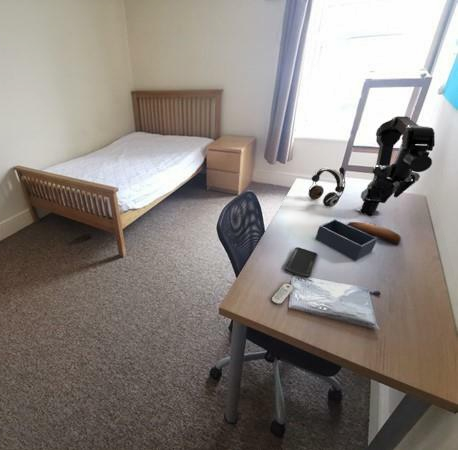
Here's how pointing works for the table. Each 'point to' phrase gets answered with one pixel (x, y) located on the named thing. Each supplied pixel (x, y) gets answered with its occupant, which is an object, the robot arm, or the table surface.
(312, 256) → the phone
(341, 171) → the headset
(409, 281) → the table surface
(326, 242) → the box
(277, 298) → the keychain
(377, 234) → the sunglasses case
